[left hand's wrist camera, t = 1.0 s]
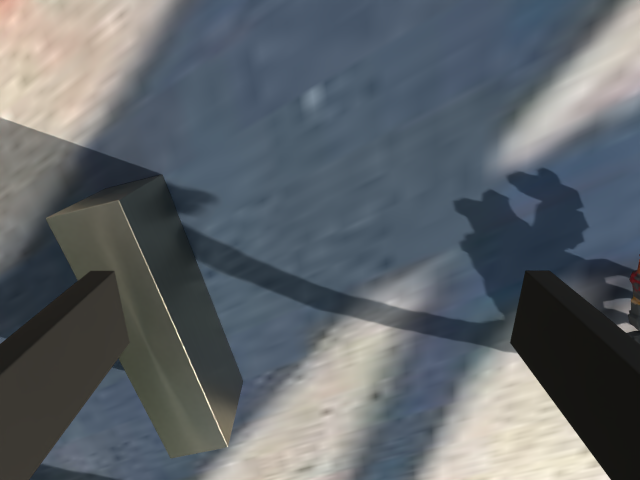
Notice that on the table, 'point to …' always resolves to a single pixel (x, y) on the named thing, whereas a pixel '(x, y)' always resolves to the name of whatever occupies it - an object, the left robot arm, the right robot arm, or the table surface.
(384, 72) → the table surface
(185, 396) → the bar
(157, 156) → the table surface
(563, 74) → the table surface
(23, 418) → the left robot arm
